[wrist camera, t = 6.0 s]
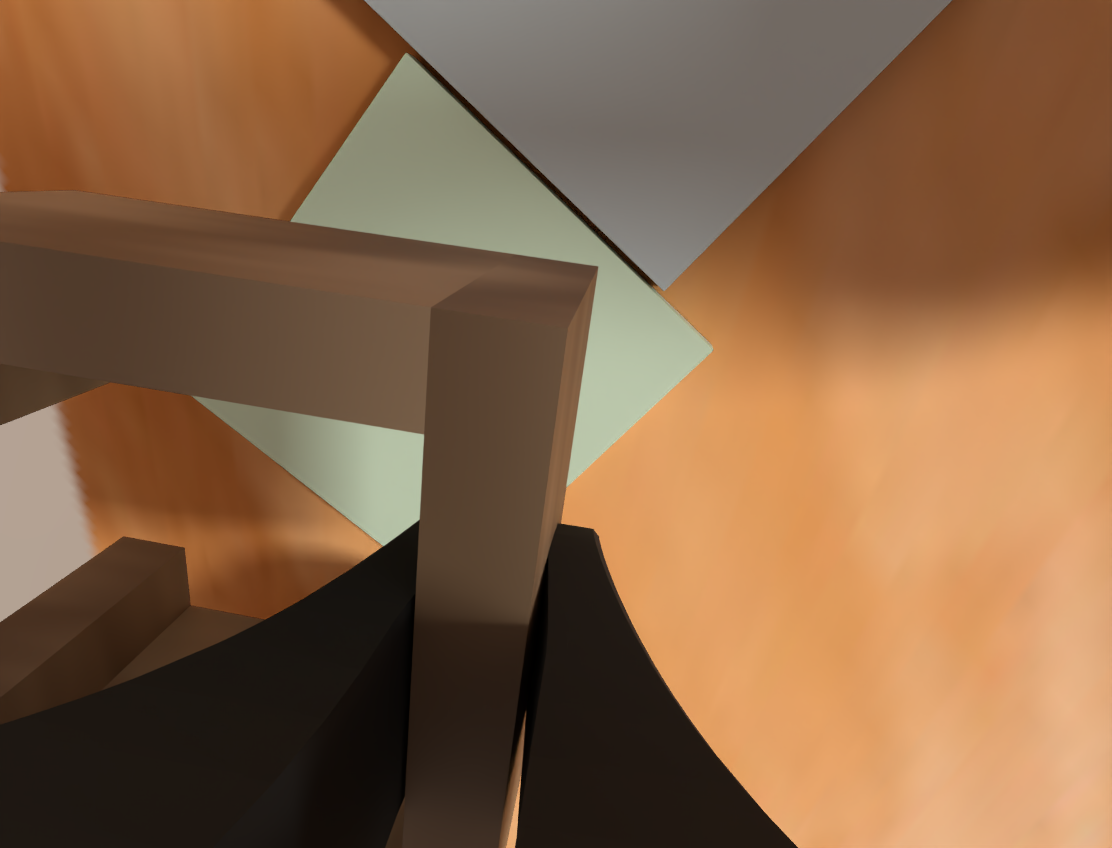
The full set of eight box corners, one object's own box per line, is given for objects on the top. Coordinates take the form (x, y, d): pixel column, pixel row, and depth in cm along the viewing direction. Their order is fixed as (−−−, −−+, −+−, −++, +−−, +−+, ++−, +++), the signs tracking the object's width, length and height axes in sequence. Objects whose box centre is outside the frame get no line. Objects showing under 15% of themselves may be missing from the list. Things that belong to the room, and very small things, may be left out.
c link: (598, 266, 9) (567, 328, 6) (531, 721, 12) (484, 953, 9) (73, 190, 10) (-273, 199, 6) (138, 643, 13) (-63, 830, 9)
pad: (710, 343, 17) (713, 349, 16) (453, 585, 21) (448, 597, 20) (414, 56, 15) (405, 52, 15) (190, 378, 19) (177, 385, 18)
